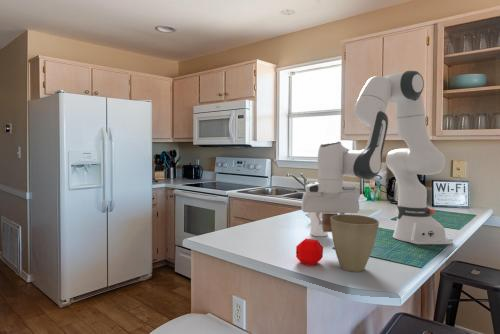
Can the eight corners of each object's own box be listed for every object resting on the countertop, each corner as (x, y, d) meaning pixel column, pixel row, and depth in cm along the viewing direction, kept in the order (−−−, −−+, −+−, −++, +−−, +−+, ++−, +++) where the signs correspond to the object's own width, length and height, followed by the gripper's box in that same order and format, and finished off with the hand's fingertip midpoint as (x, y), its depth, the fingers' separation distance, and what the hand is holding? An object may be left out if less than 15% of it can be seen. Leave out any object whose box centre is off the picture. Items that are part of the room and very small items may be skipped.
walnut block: (335, 228, 128) (336, 212, 127) (337, 232, 123) (337, 215, 122) (322, 228, 128) (322, 212, 128) (323, 231, 124) (323, 215, 123)
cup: (331, 238, 148) (332, 203, 148) (306, 236, 151) (307, 202, 150) (330, 232, 159) (331, 199, 158) (307, 230, 161) (307, 198, 160)
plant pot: (325, 272, 107) (327, 221, 106) (332, 258, 121) (333, 212, 120) (376, 279, 102) (378, 226, 101) (377, 264, 116) (379, 216, 115)
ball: (301, 257, 121) (301, 236, 121) (324, 261, 118) (324, 239, 117) (293, 264, 114) (294, 241, 114) (317, 268, 110) (318, 245, 110)
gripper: (358, 185, 126) (357, 223, 127) (301, 185, 129) (301, 222, 130) (361, 188, 120) (361, 227, 121) (301, 187, 123) (301, 226, 124)
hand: (329, 224), depth 126 cm, fingers closed on walnut block, 5 cm apart
